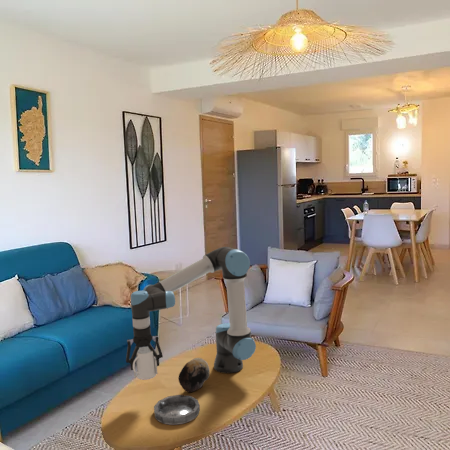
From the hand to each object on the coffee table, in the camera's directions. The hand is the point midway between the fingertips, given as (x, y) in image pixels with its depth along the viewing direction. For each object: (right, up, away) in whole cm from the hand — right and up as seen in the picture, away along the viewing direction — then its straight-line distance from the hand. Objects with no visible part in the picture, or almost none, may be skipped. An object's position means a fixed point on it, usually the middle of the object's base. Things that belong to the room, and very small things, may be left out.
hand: (145, 374), depth 207 cm
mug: (-1, -1, 0) cm, 1 cm away
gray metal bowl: (+15, -14, -8) cm, 22 cm away
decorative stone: (+21, -11, +12) cm, 27 cm away
